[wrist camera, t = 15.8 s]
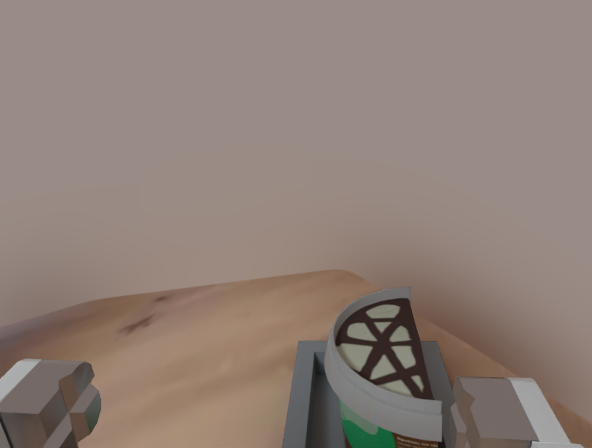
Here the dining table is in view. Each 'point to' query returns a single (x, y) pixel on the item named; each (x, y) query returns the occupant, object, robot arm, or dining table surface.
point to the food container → (382, 374)
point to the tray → (325, 403)
